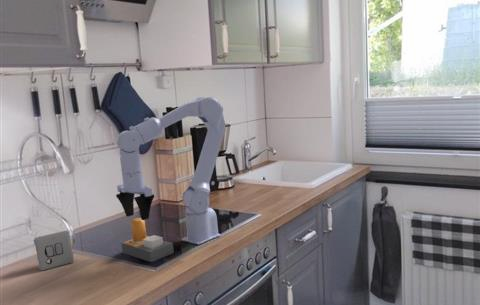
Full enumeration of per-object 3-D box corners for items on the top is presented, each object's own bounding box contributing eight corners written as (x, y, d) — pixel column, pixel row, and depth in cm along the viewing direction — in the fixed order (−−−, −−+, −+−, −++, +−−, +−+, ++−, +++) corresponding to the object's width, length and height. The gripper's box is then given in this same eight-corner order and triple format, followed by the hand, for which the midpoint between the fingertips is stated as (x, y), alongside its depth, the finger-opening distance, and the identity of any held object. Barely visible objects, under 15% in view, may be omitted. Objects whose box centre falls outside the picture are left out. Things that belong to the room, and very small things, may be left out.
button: (155, 244, 134) (154, 235, 133) (163, 247, 131) (162, 237, 130) (144, 249, 131) (142, 239, 130) (152, 251, 128) (151, 241, 127)
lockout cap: (140, 236, 138) (138, 217, 137) (149, 238, 135) (147, 218, 134) (130, 240, 134) (127, 221, 133) (139, 242, 132) (137, 222, 131)
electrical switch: (40, 272, 125) (34, 239, 125) (37, 268, 130) (31, 236, 129) (75, 262, 130) (69, 231, 130) (70, 259, 135) (65, 228, 134)
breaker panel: (144, 244, 141) (143, 234, 140) (173, 252, 131) (172, 242, 131) (122, 252, 135) (121, 242, 134) (151, 262, 126) (150, 251, 125)
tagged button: (142, 245, 138) (141, 236, 138) (150, 248, 135) (149, 238, 135) (131, 250, 135) (130, 240, 135) (139, 252, 132) (138, 242, 132)
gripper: (106, 173, 134) (112, 217, 136) (135, 176, 124) (141, 224, 126) (126, 168, 139) (131, 211, 141) (156, 171, 129) (161, 217, 131)
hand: (137, 217), depth 134 cm, fingers open, 7 cm apart
